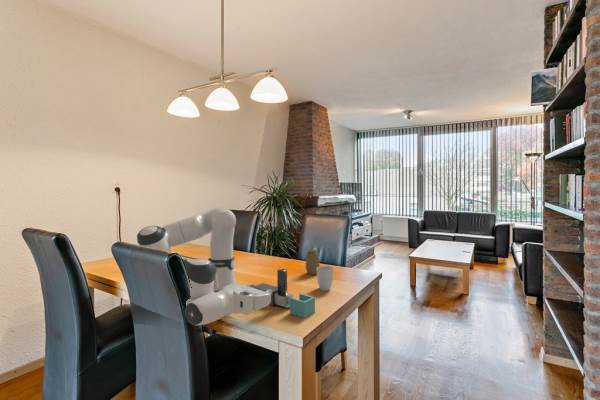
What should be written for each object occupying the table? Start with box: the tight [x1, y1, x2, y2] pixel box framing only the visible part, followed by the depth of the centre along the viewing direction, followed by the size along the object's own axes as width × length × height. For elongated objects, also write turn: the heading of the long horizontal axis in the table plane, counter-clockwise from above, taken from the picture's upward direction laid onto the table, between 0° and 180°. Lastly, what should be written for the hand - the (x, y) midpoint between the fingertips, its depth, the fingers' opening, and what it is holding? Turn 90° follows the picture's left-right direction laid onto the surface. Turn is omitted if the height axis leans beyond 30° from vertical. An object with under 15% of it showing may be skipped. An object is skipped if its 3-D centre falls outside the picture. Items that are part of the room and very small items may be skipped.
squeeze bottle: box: [305, 241, 321, 276], centre depth 171 cm, size 8×8×18 cm
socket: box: [289, 293, 316, 319], centre depth 118 cm, size 7×7×6 cm
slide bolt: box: [273, 268, 294, 309], centre depth 128 cm, size 17×4×14 cm, turn 51°
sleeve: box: [255, 282, 278, 307], centre depth 131 cm, size 12×6×6 cm, turn 51°
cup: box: [316, 265, 334, 291], centre depth 146 cm, size 8×8×10 cm
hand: (262, 288), depth 116 cm, fingers open, 8 cm apart
